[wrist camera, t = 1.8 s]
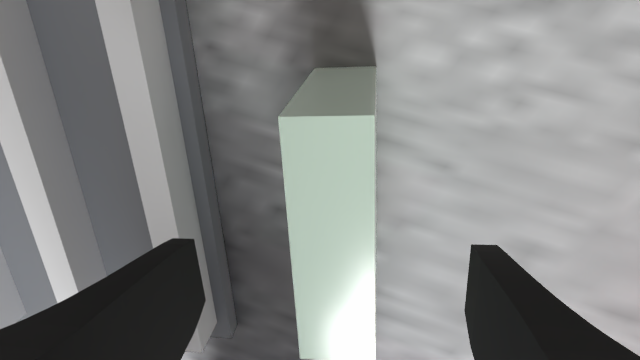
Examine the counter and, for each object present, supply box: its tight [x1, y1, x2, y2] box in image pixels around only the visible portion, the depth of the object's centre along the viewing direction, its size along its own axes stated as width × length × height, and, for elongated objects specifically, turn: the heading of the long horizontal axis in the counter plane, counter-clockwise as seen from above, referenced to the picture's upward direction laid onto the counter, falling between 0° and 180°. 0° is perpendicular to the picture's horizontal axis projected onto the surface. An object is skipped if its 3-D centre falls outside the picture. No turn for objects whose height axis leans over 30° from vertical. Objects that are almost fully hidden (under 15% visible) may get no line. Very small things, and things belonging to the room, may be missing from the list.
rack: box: [0, 0, 237, 353], centre depth 19 cm, size 18×18×3 cm
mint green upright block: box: [278, 66, 376, 360], centre depth 16 cm, size 8×2×7 cm, turn 3°
